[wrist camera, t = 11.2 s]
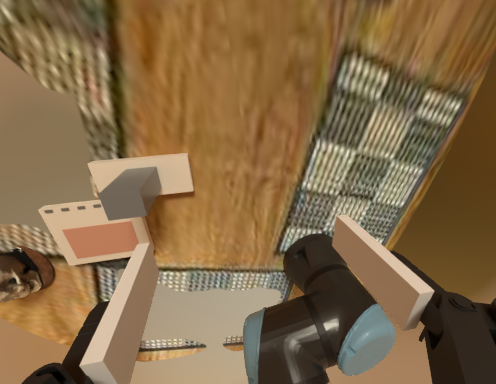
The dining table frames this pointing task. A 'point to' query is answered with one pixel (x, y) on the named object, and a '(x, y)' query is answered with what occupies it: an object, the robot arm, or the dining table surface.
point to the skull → (23, 273)
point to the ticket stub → (139, 182)
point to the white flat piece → (93, 232)
